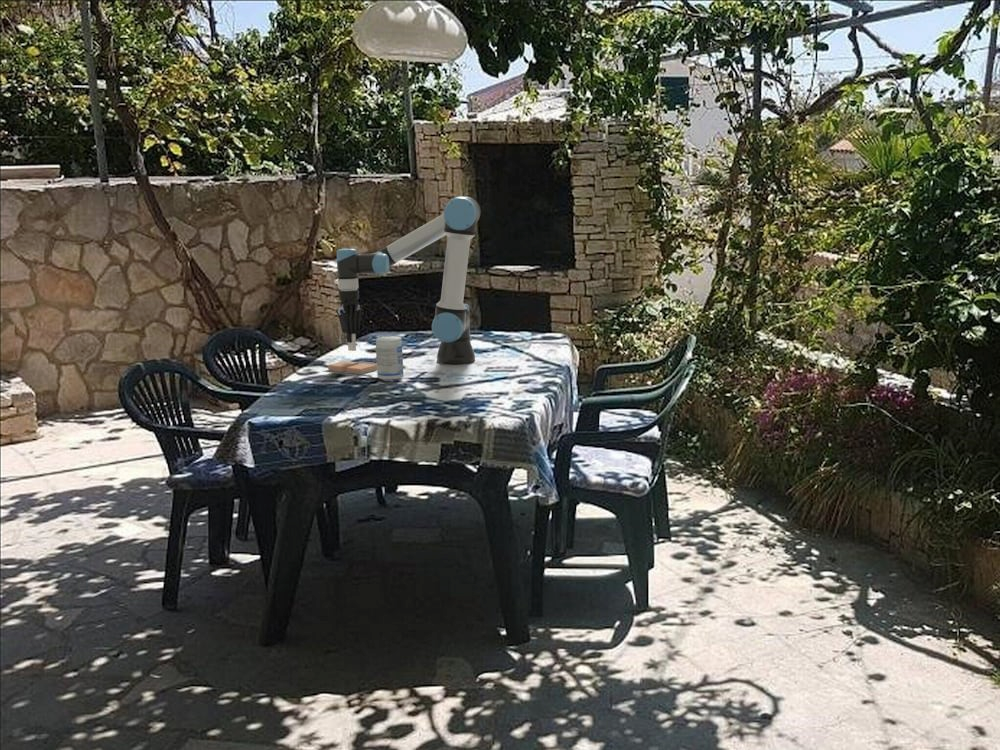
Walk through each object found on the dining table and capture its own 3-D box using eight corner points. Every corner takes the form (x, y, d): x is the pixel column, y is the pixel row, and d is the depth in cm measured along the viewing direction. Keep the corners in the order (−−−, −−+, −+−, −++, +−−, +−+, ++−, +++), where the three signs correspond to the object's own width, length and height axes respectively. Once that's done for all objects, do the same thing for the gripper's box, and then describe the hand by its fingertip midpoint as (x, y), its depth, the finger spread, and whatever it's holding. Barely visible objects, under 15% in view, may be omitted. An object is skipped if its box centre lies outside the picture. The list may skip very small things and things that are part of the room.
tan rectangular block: (376, 364, 335) (360, 369, 327) (376, 369, 335) (361, 374, 328) (362, 363, 338) (346, 367, 331) (362, 368, 339) (346, 372, 331)
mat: (394, 366, 343) (394, 365, 343) (356, 377, 325) (356, 376, 325) (361, 362, 352) (361, 361, 352) (322, 372, 334) (322, 371, 334)
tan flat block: (357, 362, 340) (341, 366, 332) (358, 367, 340) (342, 371, 333) (344, 360, 343) (328, 364, 336) (344, 365, 344) (328, 370, 336)
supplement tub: (405, 379, 319) (403, 339, 316) (378, 381, 317) (376, 341, 314) (401, 374, 328) (400, 335, 325) (376, 375, 326) (374, 336, 323)
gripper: (352, 287, 344) (356, 346, 349) (329, 291, 333) (333, 352, 338) (367, 288, 340) (370, 348, 345) (344, 292, 329) (348, 354, 334)
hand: (352, 350), depth 341 cm, fingers closed
